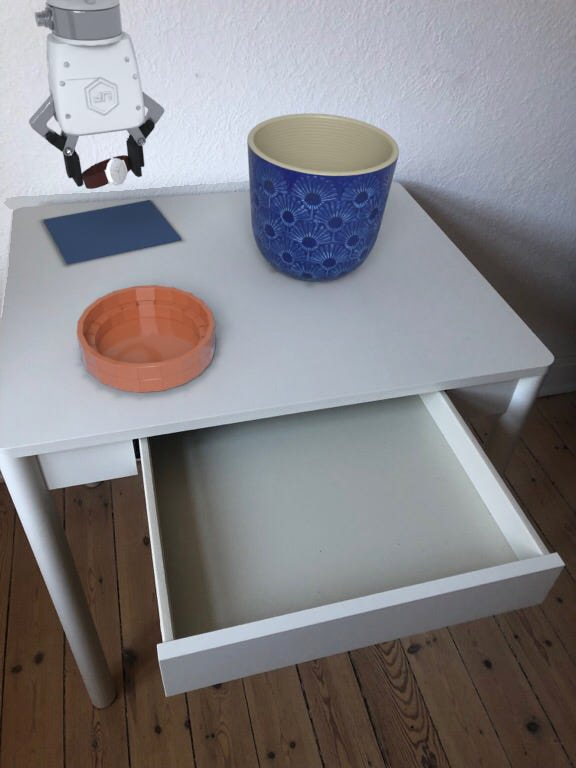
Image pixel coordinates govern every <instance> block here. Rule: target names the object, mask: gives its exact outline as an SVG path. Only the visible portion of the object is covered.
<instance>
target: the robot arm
mask: <svg viewBox="0 0 576 768" xmlns="http://www.w3.org/2000/svg"><path fill="white" fill-rule="evenodd" d="M34 18H35V23H36V26H37V27H38V28H39V27H40V28H41V27H44V28H45V29H47V28H48V29H49V30H50V31H51V32H50V33H48V34H47V35H46V68H47V81H48V90H49V96H48V97H47V98H46V99H45V101H44V102H43V103H42V104H41V105H40V106H39V108H38V109H37V110H36V111H35V112H34V113H33V115H32V116H31V117H30V118H29V120H28V124H29V125H30V128H31V129H33V131H35V132H36V133H37V134H38V135H39V136H41V138H44V139H45V140H46V141H47V142H48V143H49V144H50V145H52V146H53V147H54V148H56V149H57V150H59V151H60V152H61V153H62V155H63V156H62V157H63V161H64V167H65V173H66V175H67V177H68V179H72V180H73V182H74V183H75V185H76V186H77V187H78V188H79V187H83V186H85V184H84V181H83V177H82V173H83V171H82V167H81V166H82V165H81V160H80V159H81V158H80V155H79V154H78V153H77V150H76V147H77V143H78V140H79V138H80V137H84V136H92V135H93V136H94V135H101V134H107V133H108V134H109V133H116V132H123V131H126V132H127V133H128V137H127V138H126V151H127V152H126V153H127V156H128V158H129V162H130V167H131V170H130V171H131V172H132V173H133V175H134V176H135V177H137V178H141V177H143V171H142V168H144V167H145V156H144V154H145V153H144V146H145V144H146V142H147V138H148V137H149V136H150V135H151V133H152V132H153V131H154V130H155V128H156V125H157V123H158V122H159V120H160V119H161V118H162V116H163V114H164V113H165V109H164V106H162V105H161V104H160V103H159V102H158V101H156V100H155V99H154V98H152V97H151V96H149V95H148V94H147V93H145V91H143V88H142V82H141V81H142V80H141V76H140V69H139V66H138V61H137V57H136V52H135V48H134V43H133V41H132V37H131V35H130V34H129V33H127V32H125V31H123V23H122V14H121V3H120V0H46V1H45V7H44V9H43V10H41V11H36V12H34ZM146 109H147V112H146ZM52 117H53V118H54V119H55V121H56V122H57V123H58V125H59V127H60V129H61V130H60V133H57V132H56V131H55V130H53V129H52V128H50V126H48V125H47V124H48V122H50V120H51V119H52Z"/></svg>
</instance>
